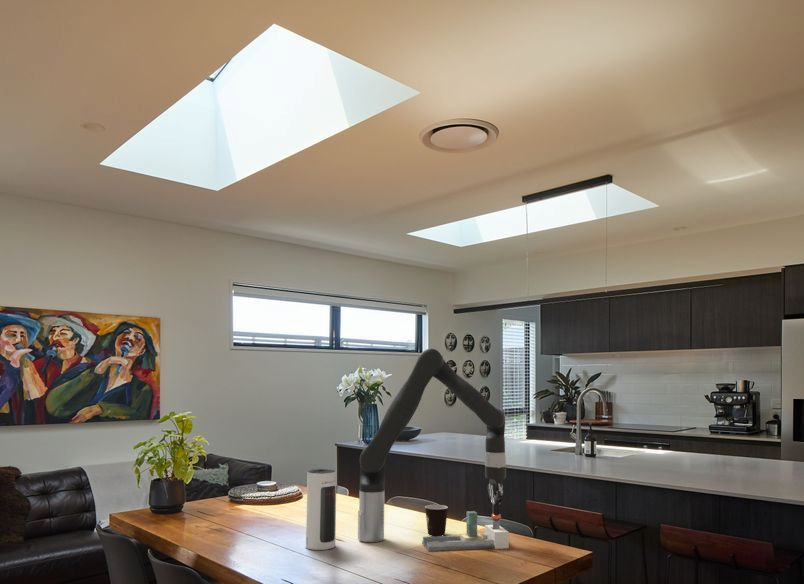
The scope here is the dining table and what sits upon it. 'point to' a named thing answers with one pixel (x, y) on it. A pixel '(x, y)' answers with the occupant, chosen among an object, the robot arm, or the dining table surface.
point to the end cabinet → (498, 536)
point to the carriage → (471, 528)
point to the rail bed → (456, 543)
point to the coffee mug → (436, 519)
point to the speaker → (321, 509)
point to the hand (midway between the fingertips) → (496, 514)
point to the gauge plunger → (496, 521)
